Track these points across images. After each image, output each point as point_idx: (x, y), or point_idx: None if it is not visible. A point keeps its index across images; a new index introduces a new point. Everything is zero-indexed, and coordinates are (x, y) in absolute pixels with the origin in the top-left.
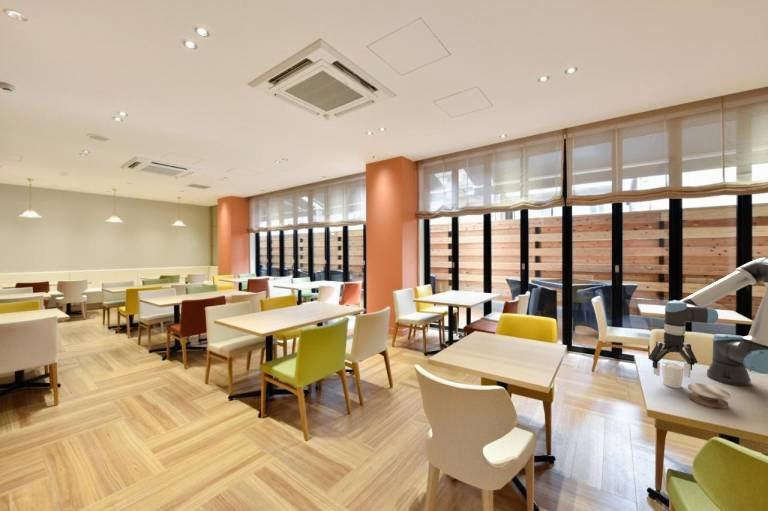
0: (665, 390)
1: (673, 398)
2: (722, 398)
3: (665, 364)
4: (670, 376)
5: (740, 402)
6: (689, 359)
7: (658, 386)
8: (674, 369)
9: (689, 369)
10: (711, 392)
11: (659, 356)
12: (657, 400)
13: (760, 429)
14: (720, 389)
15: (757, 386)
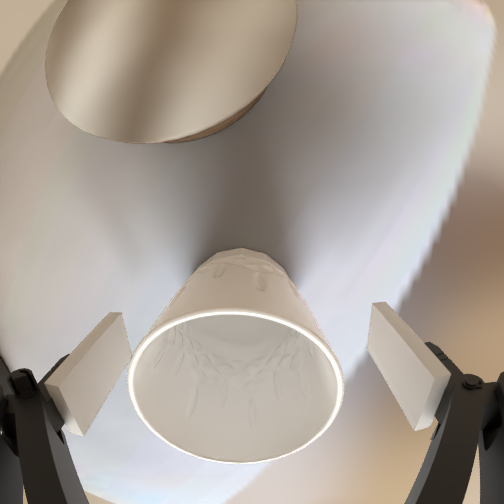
0: (353, 194)
1: (376, 78)
2: None
3: (259, 442)
4: (293, 290)
5: (17, 117)
6: (25, 430)
7: (356, 257)
8: (282, 307)
9: (81, 351)
10: None
11: (472, 447)
12: (462, 67)
13: None
14: (58, 60)
15: None
